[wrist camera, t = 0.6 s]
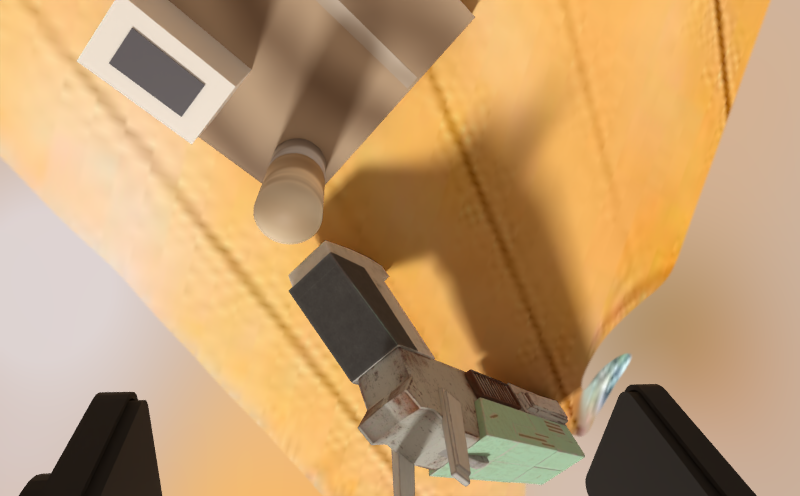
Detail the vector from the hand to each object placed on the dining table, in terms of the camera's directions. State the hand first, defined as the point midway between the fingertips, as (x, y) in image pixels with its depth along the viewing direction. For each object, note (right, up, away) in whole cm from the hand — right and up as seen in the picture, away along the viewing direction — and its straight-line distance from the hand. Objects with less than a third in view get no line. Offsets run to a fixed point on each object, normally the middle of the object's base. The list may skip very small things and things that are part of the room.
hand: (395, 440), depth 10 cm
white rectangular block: (-14, +16, +23) cm, 31 cm away
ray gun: (+4, -5, +39) cm, 40 cm away
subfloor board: (-8, +18, +24) cm, 31 cm away
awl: (-7, +10, +27) cm, 30 cm away
